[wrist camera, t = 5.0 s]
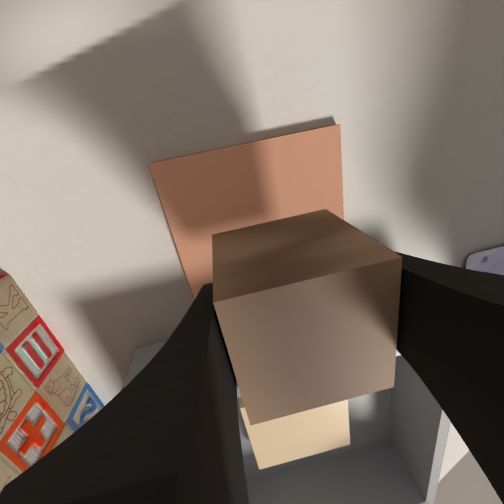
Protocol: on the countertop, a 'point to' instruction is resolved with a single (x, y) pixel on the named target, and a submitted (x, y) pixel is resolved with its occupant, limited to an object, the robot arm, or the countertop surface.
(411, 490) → the grey crate
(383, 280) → the walnut block
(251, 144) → the terracotta mat
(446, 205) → the countertop surface
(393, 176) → the countertop surface
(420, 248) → the countertop surface
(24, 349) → the stack of blocks
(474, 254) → the robot arm
